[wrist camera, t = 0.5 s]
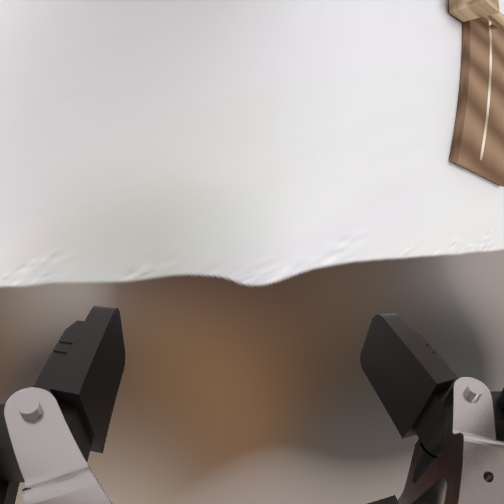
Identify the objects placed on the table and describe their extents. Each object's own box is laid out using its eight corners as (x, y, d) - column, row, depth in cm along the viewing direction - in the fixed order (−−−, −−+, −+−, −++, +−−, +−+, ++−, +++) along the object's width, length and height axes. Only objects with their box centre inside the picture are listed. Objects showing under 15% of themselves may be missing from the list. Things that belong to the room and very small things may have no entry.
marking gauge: (445, -8, 27) (480, -21, 19) (485, 21, 29) (519, 14, 21) (446, 10, 28) (482, -2, 20) (485, 39, 30) (521, 33, 22)
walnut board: (460, -11, 27) (468, -14, 25) (510, 29, 29) (517, 28, 27) (448, 160, 37) (458, 162, 35) (499, 185, 40) (507, 187, 38)
